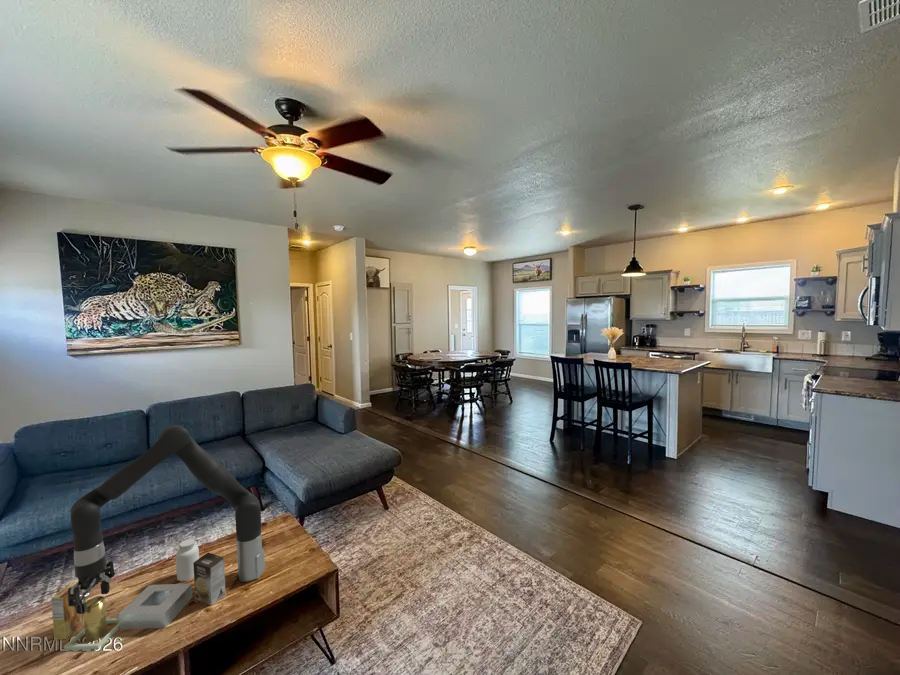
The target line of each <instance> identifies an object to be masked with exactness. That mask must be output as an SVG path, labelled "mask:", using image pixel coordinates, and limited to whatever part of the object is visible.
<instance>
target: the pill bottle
mask: <svg viewBox="0 0 900 675" xmlns="http://www.w3.org/2000/svg"><path fill="white" fill-rule="evenodd" d="M195 542H196V540H195V539H192V538H188V539H185V540H183V541H181V542H180V543H179V546H178V547H179V549H178V550H177V551H176V554H175V565H176V566H175V568H176V580H177V581H179V582H186V581H189V580H192V579H194V565H193V563H194V562H195V561H196V560H198V559H199V558H200V549H199V546H198V545H197V544H196V543H195Z"/></svg>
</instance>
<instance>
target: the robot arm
mask: <svg viewBox="0 0 900 675" xmlns="http://www.w3.org/2000/svg"><path fill="white" fill-rule="evenodd" d="M172 455H175V456H176V457H177V458H178V459H180V460H181V461H182V462H183V463H184V464H185V466H186V467H187V469H188V470H189V472H190V473H191V474H192V475H193V476H194V478H195V479H196V480H197V481H198V482H199V483H201V485H203V486H204V487H205V488H206V489H207V490H208V491H210V492H212V493H214V494H216V495H219V496H221V497H222V498H224V499H225V500H226V501H227V502H228V503H229V504H230V506H231V507H232V508H233V510H234V515H235V516H234V517H235V537H236V556H237V571H238V572H237V575H238V580H239V581H240V582H244V583H246V582H248V583H249V582H251V581H254V580H259V578H260V577H261V576H262V574H263V573H264V571H265V570H266V563H265V562H266V561H265V558H266V557H265V549H264V548H263V543H262V541H263V540H262V538H263V537H262V512H261V510H262V509H261V504H260V503H261V502H260V501H259V499H258V497H257V496H255V494H253V493H252V492H250V491H249V490H248V489H247V488H245V487H244V486H243V485H242V484H240V483H239V481H238V480H237V479H236V478H235V476H234V475H233V474H232V473H231V472H230V470H228V469H227V468H226V467H225V466H224V465H223V464H222V463H221V462H220V461H219V460H218V459H217V458H216V457H214V455H212V454H210V452H207V451H206V450H205V449H204V448H202V447H201V446H200V445H199V444H198V443H197V442H196V440H195V439H194V438H193V437H192V436H191V434H190V431H189V430H188V429H187V428H185V426H183V425H179V424H172V425H169V426H167V427H165V428H163V429H162V430H161V432H160V434H159V437H158V440H157V441H156V442H155V443H154V444H153V445H152V446H150V448H148V450H146V452H143V453H142V454H141V455H140V456H139V457H137V458H136V459H134V460H132V461H131V462H129V463H128V464H126V465H125V466H124V467H122V468H121V469H119V470H117V472H115V473H114V474H113V475H111V476H110V477H108V479H106V481H104V482H103V483H102V484H100V485H99V486H98V487H96V488H94V489H93V490H91V491H89V492H88V493H86V494H85V495H83V496H81V497H80V498H79V499H78V500H77V501H75V503H73V505H72V506H71V508H70V523H71V529H72V533H73V534H72V535H73V536H72V539H73V540H72V541H73V542H72V543H73V562H74V563H73V564H74V574H75V577H76V578H77V580H78V584H77V585H76V586H74V587H70V588H69V589H68V603H69V606H76V609H77V613H78V614H84V613H85V612H86V611H87V610H86V601H85V600H86V598H87V599H88V596H89V595H90V593H91V591H92V589H93V588H95V586H97V585H99V584H100V593H101V595H107V594H109V593H110V590H111V589H110V588H111V586H110V582H111V579H112V578H114V576H115V566H114V562H113V560H110V561H109V560H108V561H107V559H106V557H107V556H106V549H105V544H104V540H103V539H104V537H103V529H102V526H101V521H102V520H101V519H102V518H101V516H102V515H101V508H102V507H103V506H104V505H106V504H108V503H109V502H110V501H114V500H116V499H118V498H120V496H122V495H123V494H124V493H126V492H127V491H128V490H129V489H131V488H132V487H133V486H134V485H135V484H136V483H138V481H140V480H141V479H143V478H144V477H145V476H146V475H147V474H148V473H149V472H151V470H154V469H155V468H156V467H157V466H158V465H160V464H161V463H163V462H164V461H165V460H167V459H168V458H170V457H171V456H172ZM83 589H84V590H87V591H86V592H82V590H83ZM81 595H83V597H82V599H80V598H81ZM74 600H75V601H74Z"/></svg>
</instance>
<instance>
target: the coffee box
mask: <svg viewBox="0 0 900 675" xmlns="http://www.w3.org/2000/svg"><path fill="white" fill-rule="evenodd" d="M193 565H194V578H193V580H194V581H193V582H194V596H195V597H194V598H195V601H199V602H201V603H205V604H207V605H210V606H213V605H214V604H215V603H216V602H218V600H223V599H224V598H225V597H226V574H225V557H223V556H220V555H217V554H213V553H210V552H207V553H205V554H204V555H202V556H201V557H199V559H198V560H196V561H195V562H194V563H193Z"/></svg>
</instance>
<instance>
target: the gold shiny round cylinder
mask: <svg viewBox="0 0 900 675" xmlns="http://www.w3.org/2000/svg"><path fill="white" fill-rule="evenodd" d="M86 610H87V611H86V612H85V613H84V614H83V617H84V623H83V625H84V628H85V634H84V635H85V641H86V642H87V643H91V642H96V641H97V640H99V639H101V638H104V637H105V636H106V635H107V634H108V624H107V620H106V619H107V612H106V601H105V597H104V596H101V595H99V596H97V595H96V596H94V597H92V598H89V599H87V602H86Z"/></svg>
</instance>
